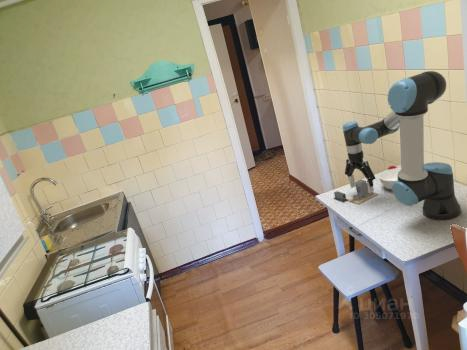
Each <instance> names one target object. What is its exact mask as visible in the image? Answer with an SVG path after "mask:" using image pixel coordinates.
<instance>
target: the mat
mask: <svg viewBox="0 0 467 350" xmlns="http://www.w3.org/2000/svg"><path fill="white" fill-rule="evenodd" d="M377 196H379V193H378V192H375V191H373V194H372V195H370V196H368V197H366V198H364V199H362V200H360V201H357V200H353V197H351V198H349V199H347V202H349V203H353V204H355V205H361V204H363V203H364V202H367V201H369V200H371V199H373V198H375V197H377Z"/></svg>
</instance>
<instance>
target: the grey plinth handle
mask: <svg viewBox="0 0 467 350" xmlns="http://www.w3.org/2000/svg"><path fill="white" fill-rule="evenodd" d="M367 189H368V185H367ZM333 195H334V197H333V200H335V201H338V202H341V203H345V202H348V199H347V195H346V193H344V192H341V191H334V193H333Z"/></svg>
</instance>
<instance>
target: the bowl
mask: <svg viewBox="0 0 467 350" xmlns="http://www.w3.org/2000/svg"><path fill="white" fill-rule="evenodd" d="M400 170H401V167H397V168H395V169H390V170H388V169H387V170H385V171H383V172H381V173H380V174H379V175H378V178H379V179H378V180H379V181H380V183H381V184H382V185H383V186H384V187H385V188H386V189H388V190H392V185H393V183H394V182H395V181H398V172H399V171H400Z"/></svg>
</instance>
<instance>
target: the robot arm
mask: <svg viewBox="0 0 467 350" xmlns="http://www.w3.org/2000/svg"><path fill="white" fill-rule="evenodd" d="M446 90H447V81H446V78H445V76H443V74H441V73H440V72H437V71H435V70H430V71H429V70H428V71H424V72H421V73H417V74H415V75H412V76H409V77H406V78H402V79H400V80H398V81H396V82H395V83H393V84H392V85H391V87H390V88H389V90H388V91H387V103H388V105H389V108H390V109H391V112H390V113H388V114H387V115H386V116H385V117H384V118H383V119H382V120H379V121H377V122H375V123H371V124H370V125H369V124H368V125H367V126H363V127H362V126H359V123H358V122H357V121H355V120H353V121H348V122H344V123H343V125H342V133H343V138H344V143H345V147H346V153H347V158H348V159H346V160H345V163H346V165H345V169H344V170H345V171H344V175H345V176H347V177H348V182H349V186H350V189H352V188H354V187H355V188H356V185H355V182H356V181H355V177H354V176H355V175H354V171H355V170H358V171H360V172H361V173H362V174H363V176H364V177H365V179H366V183H367V185H368V191H369V193H371V192H375V189H374V182H373V181H374V180H376V176H375V175H374V172H373V170H372V169H371V167H370V163H369V161H368V160H367V161H364V157H365V156H364V151H363V147H362V144H364V145H365V144H366V145H372V144H374V143H375V142H377V140H378V139H381V138H382V137H383V138H384V137H386V136H388V135H392V134H394V133H396V132H397V131H399V139H400V141H399V143H400V168H401V170H400V171H399V172H398V181H395V182H394V183H393V185H392V189H391V190H392V194H393V195H394V197H395V199H396V200H397V202H399V203H401V204H402V205H404V206H407V207H409V206H413V205H417V204H418V203H420V202H423V203H422V205H423V206H422V209H421V210H422V214H423V216H424V217H425V218H427V219H431V220H439V221H441V220H442V221H444V220H445V221H446V220H451V219H454V218H457V217H458V216H460V215H461V213H462V208H461V205H460V203H459V202H458V199H457V197H456V193H455V182H454V172H453V169H452V168H453V167H452V166H451V164H448V163H446V162H437V161H435V162H427V163H425V162H424V161H425V159H424V158H425V157H424V156H425V154H424V153H425V150H424V147H425V146H424V145H425V143H424V141H425V140H424V139H425V138H424V137H425V135H424V134H425V133H424V131H425V130H424V129H425V127H424V117H425V114H427V113H428V111H429V105H432V104H434V103H435V102H436V101H437V100H438V99H440V98H441V97H443V95H444V94H445V93H446Z"/></svg>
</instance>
